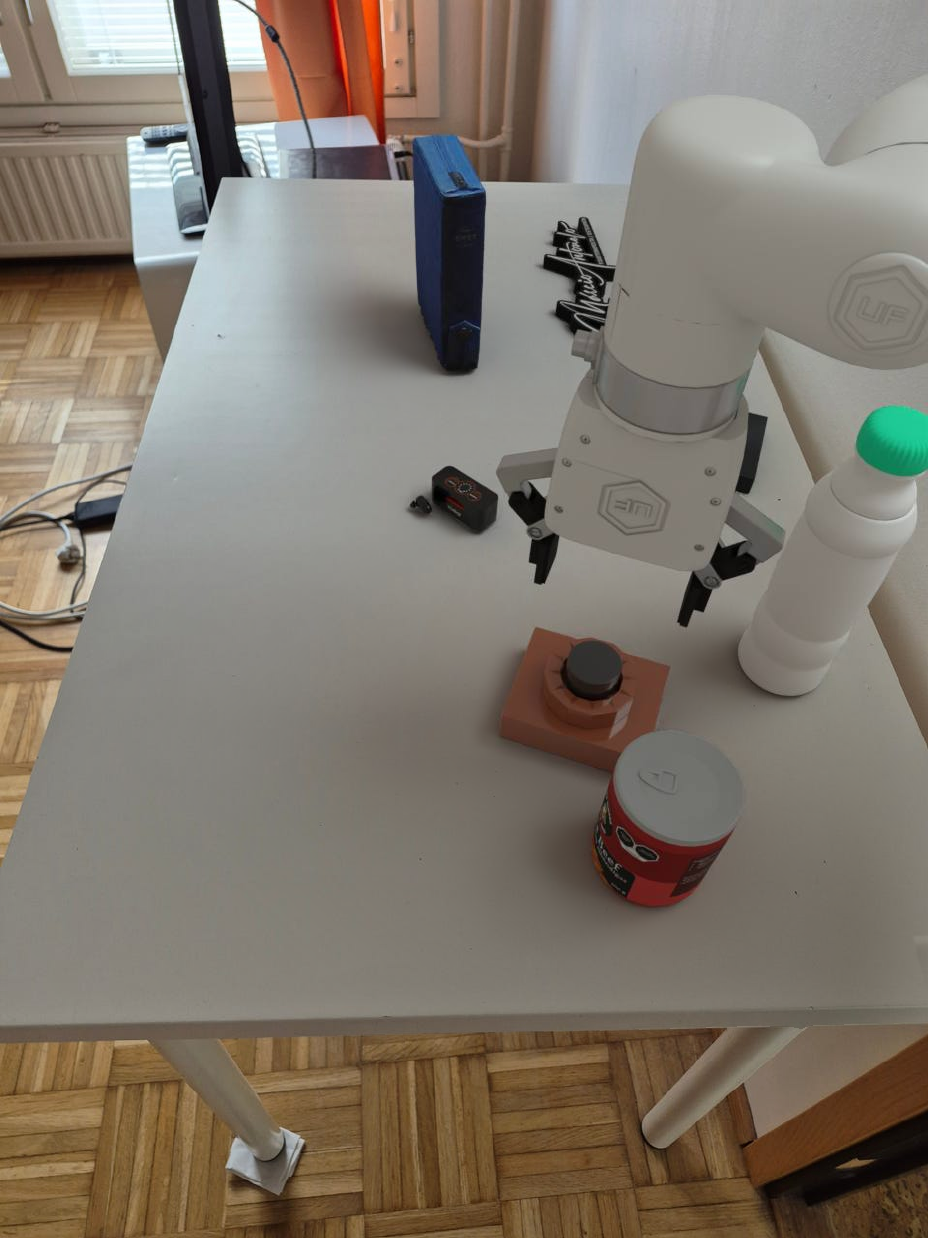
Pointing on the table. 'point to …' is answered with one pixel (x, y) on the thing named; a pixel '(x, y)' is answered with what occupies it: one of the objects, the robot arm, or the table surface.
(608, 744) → the push button box
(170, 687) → the table surface
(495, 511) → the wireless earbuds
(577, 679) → the button
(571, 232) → the nameplate
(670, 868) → the canned food
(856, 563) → the water bottle
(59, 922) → the table surface
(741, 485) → the panel
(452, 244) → the book
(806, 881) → the table surface
